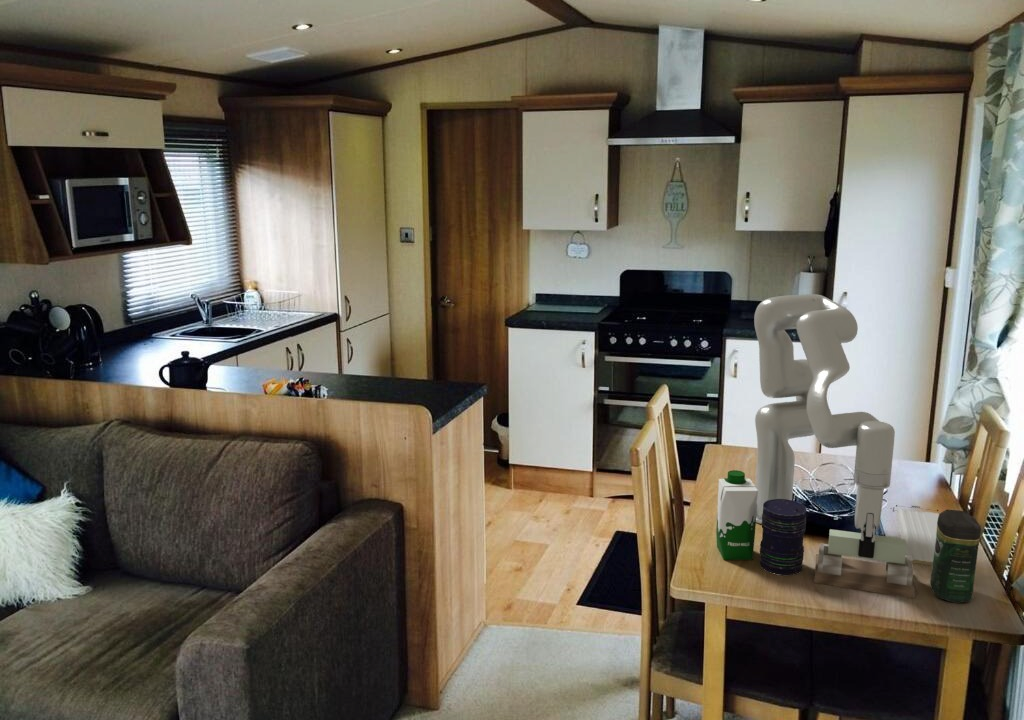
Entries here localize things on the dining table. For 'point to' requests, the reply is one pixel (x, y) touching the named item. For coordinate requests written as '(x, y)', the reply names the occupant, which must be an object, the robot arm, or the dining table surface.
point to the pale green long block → (883, 551)
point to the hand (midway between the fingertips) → (865, 552)
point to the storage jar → (782, 536)
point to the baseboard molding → (918, 534)
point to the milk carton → (736, 516)
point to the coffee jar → (955, 556)
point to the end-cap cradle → (864, 574)
